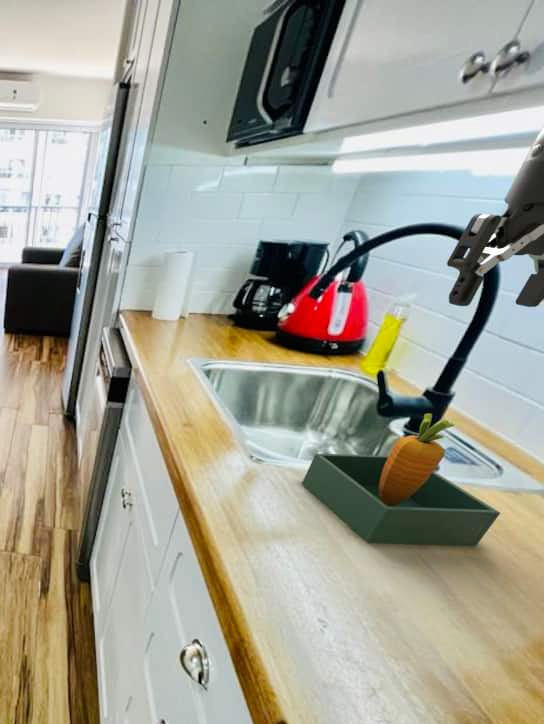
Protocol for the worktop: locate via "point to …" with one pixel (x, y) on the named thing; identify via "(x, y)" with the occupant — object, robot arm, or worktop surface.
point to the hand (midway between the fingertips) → (491, 305)
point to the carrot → (411, 462)
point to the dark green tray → (404, 521)
